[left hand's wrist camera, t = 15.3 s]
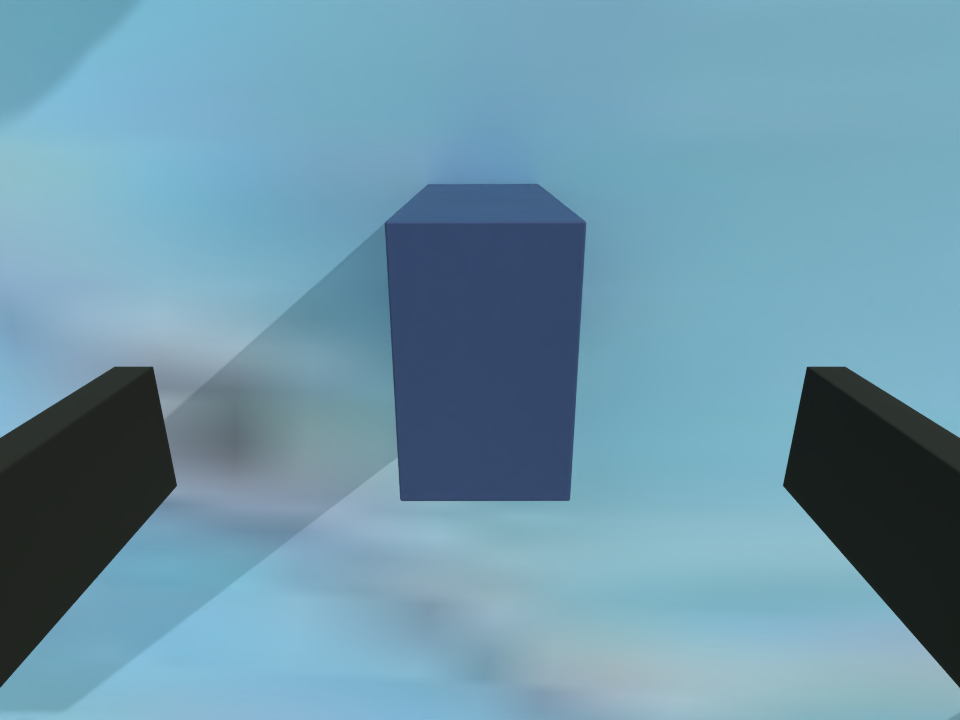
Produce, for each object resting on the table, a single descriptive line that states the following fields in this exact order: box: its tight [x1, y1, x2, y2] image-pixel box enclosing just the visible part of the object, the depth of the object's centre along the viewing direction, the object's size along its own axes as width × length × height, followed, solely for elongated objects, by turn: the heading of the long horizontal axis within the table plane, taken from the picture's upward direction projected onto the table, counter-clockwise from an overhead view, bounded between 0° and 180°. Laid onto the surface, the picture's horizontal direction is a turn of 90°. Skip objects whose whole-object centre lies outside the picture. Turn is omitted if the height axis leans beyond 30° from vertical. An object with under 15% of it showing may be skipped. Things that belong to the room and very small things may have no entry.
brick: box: [385, 184, 586, 501], centre depth 21 cm, size 8×5×12 cm, turn 0°
